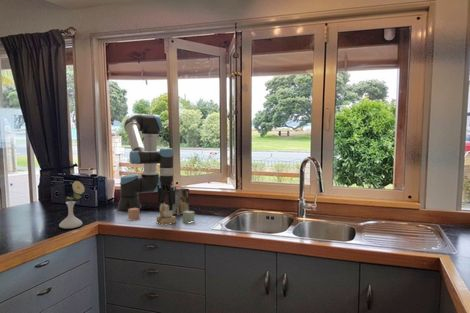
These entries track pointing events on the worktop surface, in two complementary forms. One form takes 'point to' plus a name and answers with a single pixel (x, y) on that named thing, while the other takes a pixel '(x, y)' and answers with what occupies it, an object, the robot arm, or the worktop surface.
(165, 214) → the maple block
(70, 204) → the flower in vase
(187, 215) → the sage block
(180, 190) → the coffee box
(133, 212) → the terracotta block
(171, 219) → the oak base
